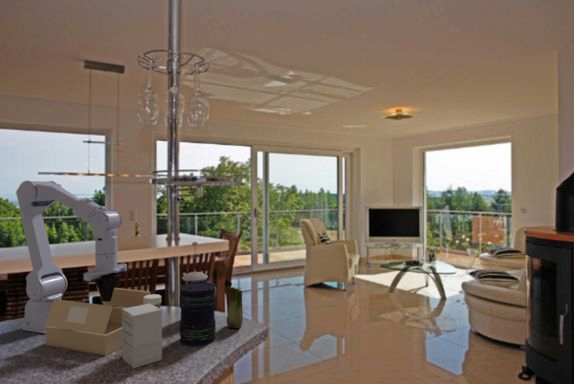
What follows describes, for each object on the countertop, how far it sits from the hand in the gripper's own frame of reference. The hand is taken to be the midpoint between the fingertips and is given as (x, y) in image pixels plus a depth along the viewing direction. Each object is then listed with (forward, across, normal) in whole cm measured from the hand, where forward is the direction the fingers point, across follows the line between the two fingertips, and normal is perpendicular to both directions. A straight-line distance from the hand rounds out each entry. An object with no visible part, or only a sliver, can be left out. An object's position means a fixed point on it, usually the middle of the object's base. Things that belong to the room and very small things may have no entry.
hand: (106, 300), depth 117 cm
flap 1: (+2, -10, 0) cm, 10 cm away
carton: (+10, -1, 0) cm, 10 cm away
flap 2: (+2, +8, 0) cm, 8 cm away
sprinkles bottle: (+10, -2, -17) cm, 20 cm away
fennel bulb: (+10, +19, -31) cm, 38 cm away
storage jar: (+10, +6, -26) cm, 29 cm away
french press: (+10, +21, -17) cm, 29 cm away
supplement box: (+10, -10, -20) cm, 25 cm away
